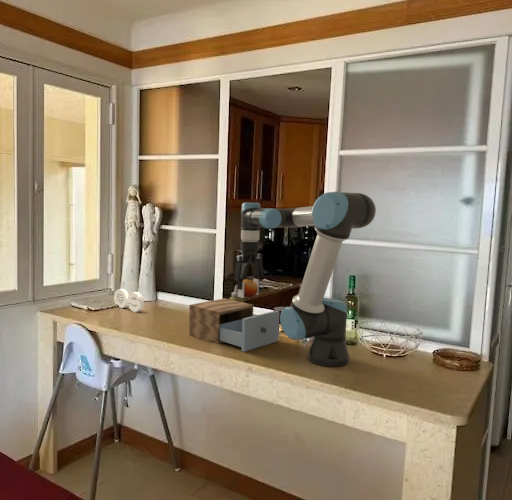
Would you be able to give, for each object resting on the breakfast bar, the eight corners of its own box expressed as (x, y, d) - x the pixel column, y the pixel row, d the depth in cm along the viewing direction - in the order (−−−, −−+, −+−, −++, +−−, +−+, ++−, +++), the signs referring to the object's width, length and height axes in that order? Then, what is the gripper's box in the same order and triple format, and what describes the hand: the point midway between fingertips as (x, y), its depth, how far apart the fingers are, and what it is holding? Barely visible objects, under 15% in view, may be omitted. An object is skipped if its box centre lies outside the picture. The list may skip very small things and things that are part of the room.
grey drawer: (280, 341, 200) (281, 311, 199) (246, 352, 184) (247, 320, 183) (246, 332, 213) (247, 303, 212) (211, 341, 197) (212, 311, 196)
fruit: (239, 289, 202) (248, 274, 200) (253, 301, 200) (263, 286, 198) (230, 292, 195) (240, 277, 193) (245, 304, 193) (255, 289, 190)
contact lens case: (113, 306, 256) (113, 288, 255) (117, 305, 258) (117, 287, 257) (140, 313, 243) (140, 293, 242) (143, 312, 244) (143, 293, 243)
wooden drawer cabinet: (252, 334, 210) (253, 304, 209) (217, 344, 195) (218, 312, 194) (223, 326, 222) (224, 298, 221) (189, 334, 207) (189, 304, 205)
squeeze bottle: (247, 322, 232) (248, 285, 230) (237, 325, 225) (238, 287, 223) (234, 319, 236) (235, 283, 234) (224, 322, 229) (224, 285, 228)
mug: (279, 334, 211) (280, 312, 210) (265, 331, 216) (266, 309, 215) (293, 330, 219) (294, 309, 218) (280, 327, 224) (281, 306, 223)
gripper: (259, 238, 204) (258, 291, 207) (225, 241, 189) (223, 297, 191) (273, 240, 199) (271, 294, 202) (238, 242, 184) (237, 300, 186)
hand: (248, 295), depth 196 cm, fingers closed on fruit, 8 cm apart
